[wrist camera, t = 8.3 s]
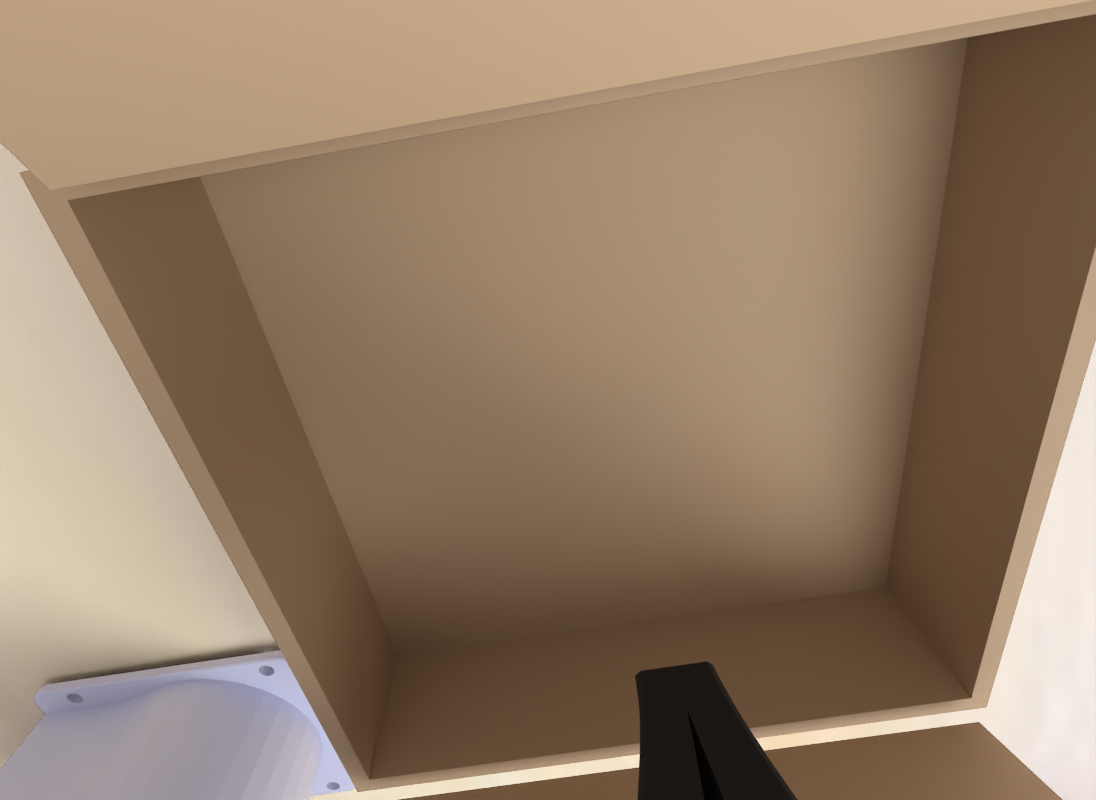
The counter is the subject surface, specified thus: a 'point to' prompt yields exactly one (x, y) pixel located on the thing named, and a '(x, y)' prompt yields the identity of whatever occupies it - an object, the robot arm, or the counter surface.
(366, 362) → the carton
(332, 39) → the near flap
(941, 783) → the far flap
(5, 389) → the counter surface
